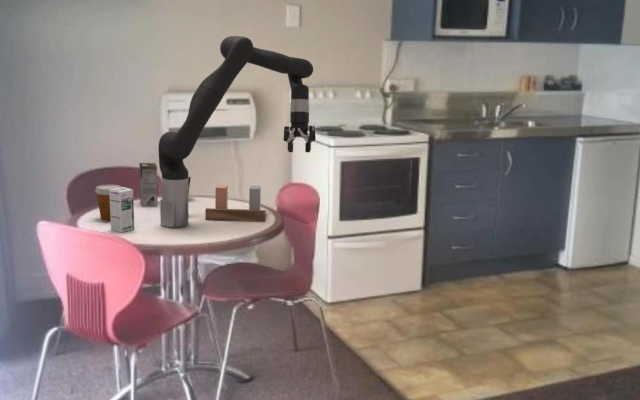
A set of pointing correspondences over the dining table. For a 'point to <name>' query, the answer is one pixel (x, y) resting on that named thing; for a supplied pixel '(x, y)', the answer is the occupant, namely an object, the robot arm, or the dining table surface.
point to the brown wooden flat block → (235, 215)
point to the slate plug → (254, 197)
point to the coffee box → (148, 184)
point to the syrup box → (121, 209)
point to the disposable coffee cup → (105, 200)
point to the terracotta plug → (221, 197)
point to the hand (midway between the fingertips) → (299, 152)
